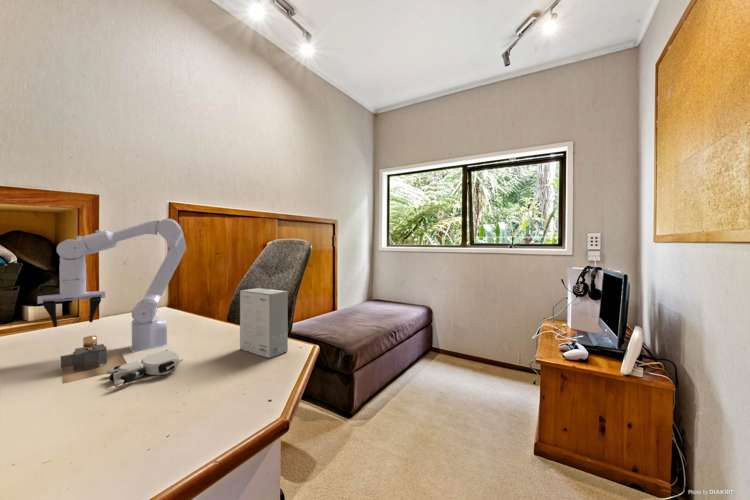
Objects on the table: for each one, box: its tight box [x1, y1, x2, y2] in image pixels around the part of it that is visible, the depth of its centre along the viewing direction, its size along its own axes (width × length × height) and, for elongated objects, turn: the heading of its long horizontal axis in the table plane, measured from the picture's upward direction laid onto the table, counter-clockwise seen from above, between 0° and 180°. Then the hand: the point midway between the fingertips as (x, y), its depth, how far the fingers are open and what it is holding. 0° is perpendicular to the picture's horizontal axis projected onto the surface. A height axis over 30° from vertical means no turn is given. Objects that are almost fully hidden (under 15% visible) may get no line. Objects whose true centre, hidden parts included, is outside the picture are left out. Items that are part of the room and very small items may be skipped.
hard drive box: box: [239, 287, 289, 359], centre depth 101 cm, size 16×8×20 cm, turn 58°
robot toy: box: [105, 348, 184, 386], centre depth 81 cm, size 12×4×15 cm
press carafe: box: [60, 343, 108, 371], centre depth 85 cm, size 9×7×5 cm
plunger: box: [82, 335, 98, 350], centre depth 86 cm, size 5×5×7 cm
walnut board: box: [61, 351, 127, 385], centre depth 86 cm, size 13×18×1 cm
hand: (73, 324), depth 93 cm, fingers open, 7 cm apart
